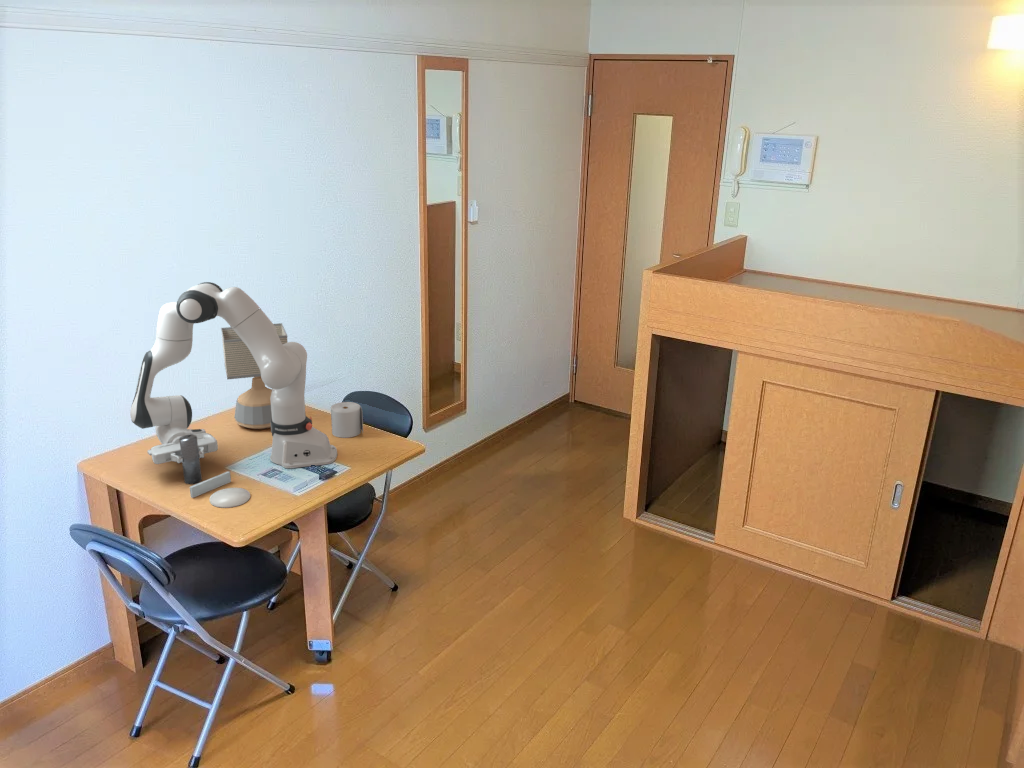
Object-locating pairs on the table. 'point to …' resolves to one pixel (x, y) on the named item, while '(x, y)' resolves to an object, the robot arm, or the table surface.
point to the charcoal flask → (190, 459)
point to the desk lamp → (241, 364)
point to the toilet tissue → (346, 419)
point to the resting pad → (229, 497)
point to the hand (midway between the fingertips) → (191, 458)
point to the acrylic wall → (210, 484)
